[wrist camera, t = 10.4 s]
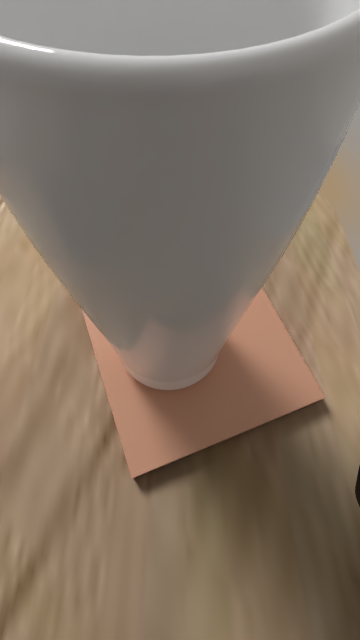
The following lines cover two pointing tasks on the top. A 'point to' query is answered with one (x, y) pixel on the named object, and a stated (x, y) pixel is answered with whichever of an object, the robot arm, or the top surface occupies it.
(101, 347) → the terracotta tile
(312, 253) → the top surface
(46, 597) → the top surface
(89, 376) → the top surface
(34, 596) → the top surface
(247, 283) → the white cup
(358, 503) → the robot arm
